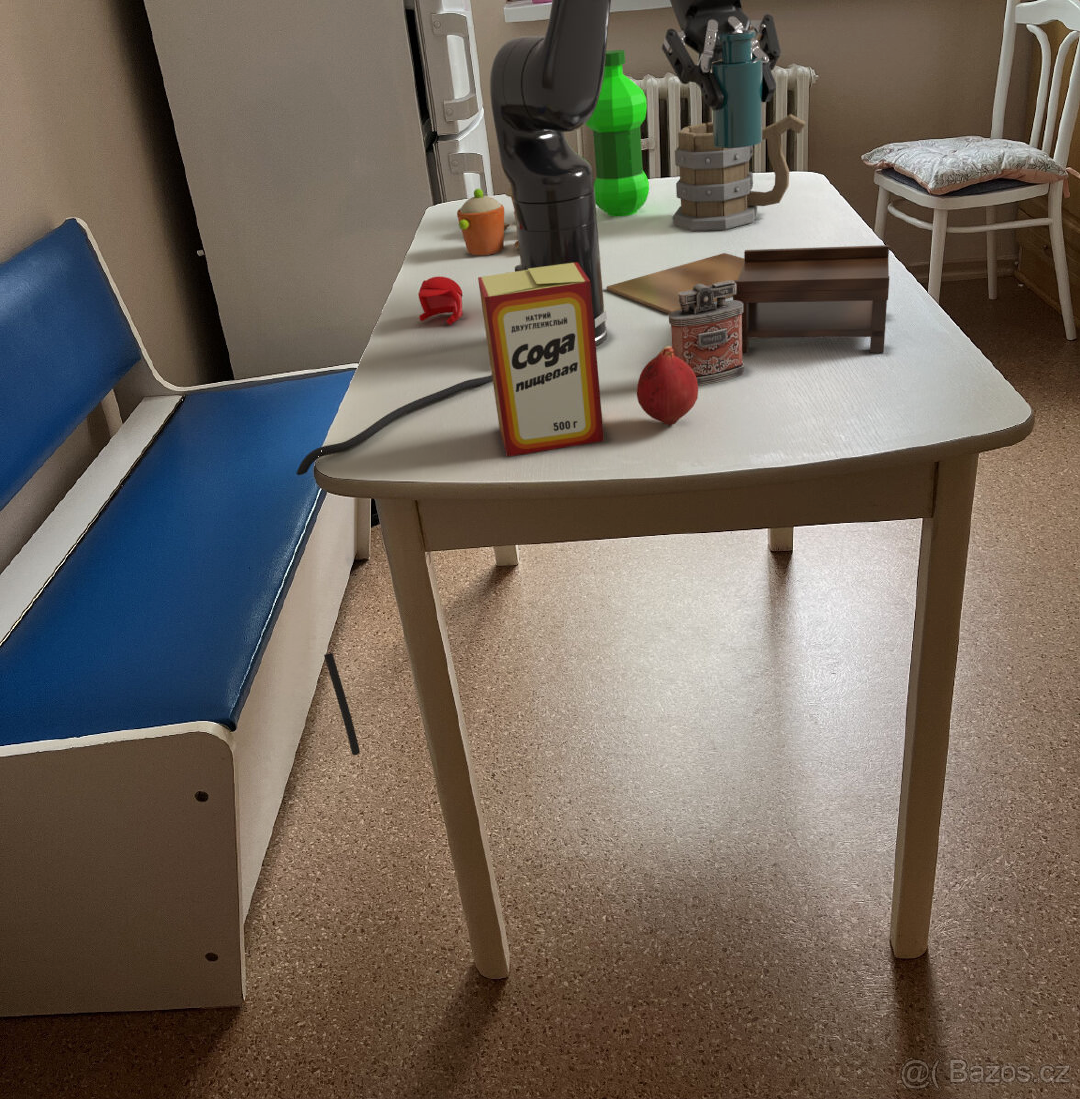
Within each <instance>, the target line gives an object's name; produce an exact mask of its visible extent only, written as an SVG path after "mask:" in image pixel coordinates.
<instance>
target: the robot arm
mask: <svg viewBox="0 0 1080 1099" xmlns="http://www.w3.org/2000/svg"><path fill="white" fill-rule="evenodd" d="M669 2H670V4H671V5H670V6H671V7H672V10H673V12H674V15H675V18H676V20H677V23H678V25H679V28H680V31H677V30H676V29H674V28H669V29H667V30H666V34H665V36H664V39H663V42H662V46H661V50H662V51H663V53H664V56H665V57H666V58H667V60H668V62H669V64H670V66H671V68H672V69H673V71H674V73H675V75H676V76H677V78H678V80H679V82H680V83H681V84H683V85H688V84H689V83H695V84H696V86H698V87H699V89H700V92H701V94H702V98H703V100H704V103H705V105H707V107H708V108H709V107H710V109H711V111H712V112H713V111H715V110H720V108H721V105H722V103H723V94H722V92H721V89H720V87H719V84H718V81H717V79H716V76H715V74H714V72H713V73H712V63H714V62H718V61H722V41H719V40H718V35H719V34H721V33H726V32H732V31H742V30H754V31H755V37H754V38H752V58H762V60H763V72H762V103H769V102H770V101H771V100H772V98H773V96H774V95H775V94H774V93H775V91H776V89H777V83H776V80H775V78H774V75H773V72H772V71H773V70H774V69H775V67H776V64H777V62H778V60H779V58H780V56H781V54H782V51H781V46H780V42H779V37H778V32H777V29H776V24H775V20H774V16H773V15H771V14H770V13H769V14H768V13H767V14H765V15H764V16H763V17H762V19H751V18H750V17H749V16H748V15H747V14H746V13H745V12H744V11H743V8H742V2H741V0H669ZM611 4H612V0H552V1H551V6H550V13H549V18H548V22H547V26H546V30H545V34H544V35H523V36H517V37H514V38H511V39H509V40H507V41H506V42H505V43H504V44H503V45H501V46H500V48H499V49H498V50H497V52H496V54H495V56H494V59H493V61H492V64H491V68H490V74H489V96H490V106H491V111H492V118H493V124H494V130H495V136H496V141H497V147H498V153H499V159H500V164H501V167H502V170H503V173H504V175H505V177H506V179H507V180H508V183H509V185H510V187H511V188H512V195H513V202H514V206H513V210H514V211H515V214H514V218H515V227H516V236H517V241H518V244H519V249H518V251H519V259H520V263H519V264H517V265H515V266H514V272H517V271H523V270H528V269H529V268H537V267H545V266H552V265H560V264H568V263H576V262H578V264H579V265H580V267H581V268H582V270H583V271H584V273H585V274H586V276H587V277H588V279H589V280H590V284H591V296H592V307H593V319H594V331H595V342H596V347H597V346H599V345H601V344H602V343H604V342H605V341H606V340H607V338H608V330H607V326H606V320H607V319H608V316H607V310H605V302H604V291H603V290H604V289H603V278H602V277H603V276H602V266H601V264H602V263H601V253H600V252H601V251H600V241H599V239H600V238H599V227H598V217H597V216H598V215H597V205H596V201H595V190H594V182H595V179H594V171H593V167H592V165H591V163H590V162H589V161H588V160H587V159H585V158H584V157H583V156H581V155H580V154H579V153H578V152H577V151H575V150H574V148H573V147H572V145H570V143H569V141H568V140H567V138H566V136H565V133H566V132H567V133H569V132H574V131H577V130H579V129H581V128H582V127H584V125H586V122H587V121H588V120H589V119H590V117H591V116H592V114H593V112H594V110H595V108H596V105H597V103H598V100H599V96H600V92H601V87H602V82H603V75H604V67H605V57H606V51H607V46H608V35H609V25H610V14H611ZM685 45H686V46H687V47H689V48H690V49H691V50H693V51H694V52H695V53H697V62H696V64H695V62H694V60H693V58H692V56H691V55H690V53H689V51H688V50H687V48H686V46H685ZM513 202H512V203H513ZM514 211H513V212H514ZM489 383H493V379H492V374H490V375H486V376H482V377H476V378H471V379H468V380H464V381H462V382H458V383H456V384H454V385H451V386H449V387H446V388H444V389H441V390H439V391H436V392H433V393H431V394H428V395H425V396H423V397H421V398H418V399H416V400H414V401H411V402H409V403H407V404H405V405H402V406H401V407H398V408H396V409H395V410H392V411H391V412H389V413H387V414H386V415H384V416H383V417H381V418H380V419H378V420H377V421H376V422H374V423H372V425H370V426H369V427H367V428H366V429H364V430H363V431H361V432H359V433H358V434H356V435H355V436H353V437H351V438H349V439H347V440H345V441H342V442H338V443H333V444H328V445H323V446H320V447H317V448H315V449H313V450H312V451H310V452H309V453H308V454H307V455H306V456H305V457H304V458H303V459H302V461H301V462H300V464H299V466H298V468H297V470H296V475H297V476H301V475H304V474H306V473H308V471H309V469H310V468H311V466H312V465H313V463H315V461H317V460H319V459H321V458H323V457H326V456H330V455H335V454H340V453H343V452H346V451H350V450H351V449H353V448H355V447H357V446H359V445H360V444H363V443H364V442H366V441H367V440H369V439H370V438H372V437H373V436H374V435H376V434H377V433H379V431H381V430H382V429H383V428H385V427H387V426H389V425H390V424H391V423H393V422H394V421H396V420H398V419H400V418H401V417H404V416H406V415H408V414H410V413H412V412H414V411H416V410H419V409H421V408H423V407H426V406H429V405H431V404H433V403H435V402H439V401H442V400H444V399H447V398H449V397H452V396H454V395H456V394H460V393H461V392H463V391H467V390H469V389H473V388H478V387H481V386H484V385H487V384H489ZM321 450H322V452H321ZM318 456H319V457H318ZM323 657H324V660H325V664H326V667H327V670H328V673H329V677H330V680H331V684H332V686H333V689H334V694H335V697H336V699H337V700H336V701H337V703H338V706H339V709H340V710H339V711H340V713H341V716H342V720H343V723H344V727H345V731H346V735H347V740H348V743H349V748H350V751H351V754H352V756H358V755H359V754H361V751H360V750H361V749H360V746H359V742H358V737H357V734H356V730H355V725H354V722H353V718H352V714H351V711H350V707H349V704H348V700H347V696H346V694H345V690H344V687H343V683H342V680H341V676H340V674H339V670H338V667H337V663H336V661H335V656H334V653H333V652H329V653H325V654H324V655H323Z"/></svg>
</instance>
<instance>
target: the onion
mask: <svg viewBox="0 0 1080 1099" xmlns="http://www.w3.org/2000/svg"><path fill="white" fill-rule="evenodd" d="M673 352H674V350H673V348H672V345H669V346H668V345H667V346H666V345H665V346H664V347H663V348H662V349H661V351H660V352H659V353H658V354H657V355H656V356H655V357H653V358H652V359H651V360H650V361H648V363H647V364H646V365H645V366H644V367H643V369H642V371H641V372H640V374H639V377H638V380H637V385H636V386H637V387H636V397H637V402H638V404H639V406H640V407H641V409H642V410H643V411H644V413H645V414H646V415H647V416H649V417H650V418H652V419H654V420H656V421H658V422H660V423H662V424H664V425H666V426H673V425H676V423H677V422H679V420H681V418H683V417H684V416H686V415H687V413H689V412H690V410H692V409H693V407H695V404H696V402H697V400H698V399H699V386H698V383H697V379H696V376H695V374H694V372H693V370H692V369H691V368H690V367H689V366H688V365H687V364H686V363H685V362H684V361H683V360H681V359H680V358H678V357H676V356H674V354H673Z"/></svg>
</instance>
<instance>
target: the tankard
mask: <svg viewBox="0 0 1080 1099" xmlns="http://www.w3.org/2000/svg"><path fill="white" fill-rule="evenodd" d="M805 126H806V121H804V120H803V119H801V118H798V117H796V116H795V115H793V114H792V113H790V114H788V115H787V116H785V117H783V118H781V119H780V120H778V121H776V122H774V123H772V124H770V125H768V126H766V127H762V141H763V140H766V144H767V145H766V146H767V155H768V160H769V162H770V165H771V167H772V170H773V173H774V185H773V187H772V189H771V190H767V191H756V190H752V189H753V187H754V173H753V172H752V171H750V160H751V158H752V156H754V145H753V146H748V147H741V148H719V147H715V146H714V145H713V121H711V122H703V123H697V124H692V125H689V126H684V127H683V128H682V129H681V130H680V131H679V132H678V134H677V139H678V146H677V148H676V149H675V150H674V159H675V160H674V163H675V166H676V167H678V168H679V179H678V181H677V182H676V183H675V184H676V185H675V187H676V188H675V190H676V192H675V193H676V198H677V199H679V200H680V206H679V207H678V208H677V210H676V211H675V213H674V214H673V215H672V225H673V226H675V227H678V228H682V229H684V230H688V231H691V232H707V231H710V232H711V231H727V230H731V229H734V228H738V227H743V226H747V225H750V224H752V223H754V221H755V219H756V217H757V215H758V207H766V206H767V207H768V206H771V205H776V204H780V203H781V201H782V199H783V197H784V195H785V194H786V192H787V190H788V188H789V185H790V169H789V166H788V164H787V160H786V158H785V155H784V150H783V142H782V135H783V134H785V133H786V132H788V131H789V130H791V131H793V132H795V133H796V134H801V133H802V131H803V129H805Z"/></svg>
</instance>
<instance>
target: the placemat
mask: <svg viewBox="0 0 1080 1099" xmlns="http://www.w3.org/2000/svg"><path fill="white" fill-rule="evenodd" d="M744 262H745V261H744V257H740V256H736V255H734V254H729V253H726V252H723V253H720V254H715V255H712V256H709V257H705V258H702V259H698V260H694V261H692V262H687V263H685V264H680V265H678V266H673V267H670V268H666V269H663V270H660V271H656V272H652V273H649V274H645V275H642V276H639V277H635V278H631V279H628V280H624V281H620V282H618V283H614V284H611V285H606V290H607V291H609V292H612V293H614V294H616V295H619V296H621V297H624V298H627V299H630V300H632V301H635V302H637V303H640V304H641V305H645V306H647V307H650V308H652V309H655V310H657V311H660V312H663V313H665V314H667V315H669V314H670V313H671V312H674V311H678V310H681V306H680V303H679V293H680V292H684V291H688V290H692V289H693V288H694V286H695V285H696V284H703V285H705V286H707V287H708V286H712V284H715V283H720V282H725V281H730V280H732V281H733V280H738V278H739V275H740V273H741V270H742V267H743V265H744ZM732 297H733V295H729V296H724V298H725V299H727V298H732ZM714 302H717V298H714Z"/></svg>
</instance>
